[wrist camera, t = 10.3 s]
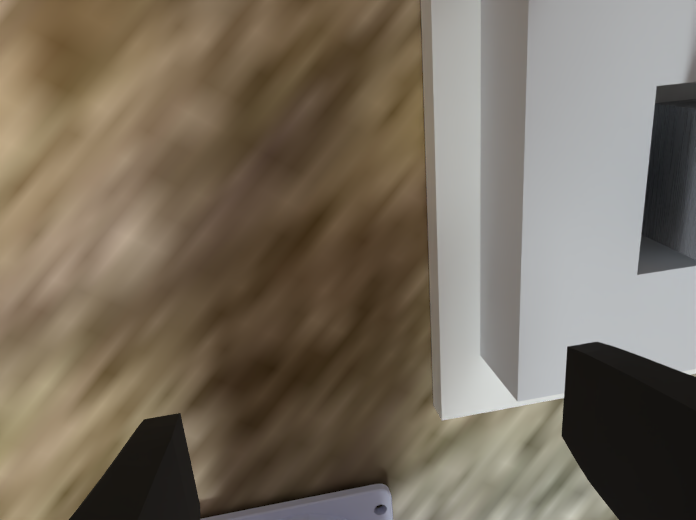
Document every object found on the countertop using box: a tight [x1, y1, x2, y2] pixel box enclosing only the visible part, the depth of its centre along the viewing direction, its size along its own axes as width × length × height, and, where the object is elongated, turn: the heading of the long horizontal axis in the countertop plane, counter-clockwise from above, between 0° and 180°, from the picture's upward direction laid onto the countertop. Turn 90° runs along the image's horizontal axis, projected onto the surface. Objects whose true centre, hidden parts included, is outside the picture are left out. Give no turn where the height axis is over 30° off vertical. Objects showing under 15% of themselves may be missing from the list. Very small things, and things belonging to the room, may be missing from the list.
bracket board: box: [421, 0, 696, 420], centre depth 19 cm, size 18×16×4 cm
